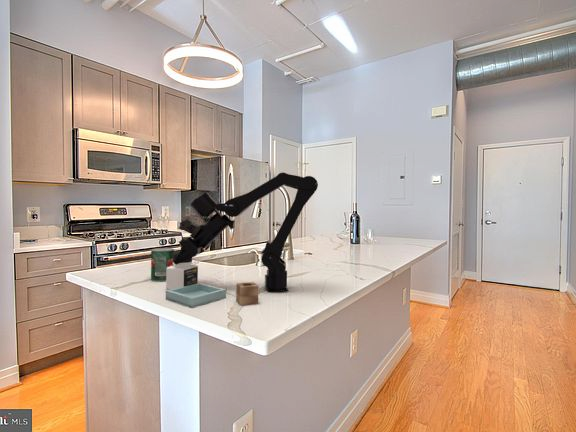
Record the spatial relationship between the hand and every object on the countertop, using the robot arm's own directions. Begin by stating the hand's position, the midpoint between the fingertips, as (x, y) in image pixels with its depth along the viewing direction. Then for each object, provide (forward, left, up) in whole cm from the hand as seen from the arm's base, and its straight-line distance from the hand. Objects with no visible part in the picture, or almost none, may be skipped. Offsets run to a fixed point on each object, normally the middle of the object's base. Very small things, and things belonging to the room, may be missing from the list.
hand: (178, 261), depth 101 cm
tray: (-6, +13, -9) cm, 17 cm away
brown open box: (-20, +19, -9) cm, 29 cm away
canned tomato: (+7, -14, -9) cm, 18 cm away
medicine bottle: (-1, 0, -9) cm, 9 cm away
